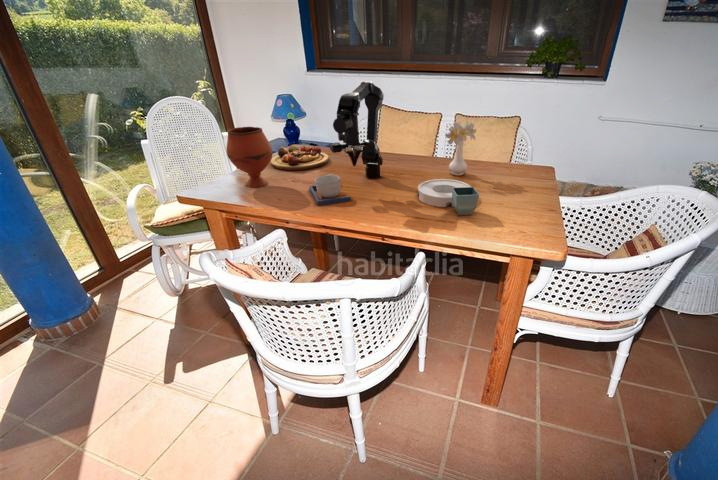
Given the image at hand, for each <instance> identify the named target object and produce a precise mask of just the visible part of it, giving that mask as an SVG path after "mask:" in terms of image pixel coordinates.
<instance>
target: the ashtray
mask: <svg viewBox="0 0 718 480" xmlns="http://www.w3.org/2000/svg"><path fill="white" fill-rule="evenodd" d="M460 187H472V186H471V185H470V184H468V183H466V182H463V181H461V180H456V179H449V178H438V179H429V180H426V181H425V180H424V181H423V182H421V183H419V184H418V186H417V196H418V200H419V201H420V202H422V203H424V204H426V205H429V206H433V207H438V208H446V207H448V206H450V205H451V207H452V208H455V207H454V204H453V199H452V188H460Z"/></svg>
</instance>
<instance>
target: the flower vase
mask: <svg viewBox="0 0 718 480" xmlns="http://www.w3.org/2000/svg"><path fill="white" fill-rule="evenodd" d="M474 126H475V125H474V123H472V122H469V121H468V120H467V119H465V125H464V126H463V125H462V124H461V121H454V122H453V125H451V126H450V127H449V128H448V131H449V133H445V135H444V136H445V137H446V138H447V139H449V140H448V142H447V143H448V145H449V146H450V145H452V144H453V143H454V144H455V145H456V150H455V156H454V158H453V160H452V161H451V162H450V163H449V165H448V169H449V171H450V172H451V175H453V176H464V175H465V172H466V171H467V170H468V164H467V162H466V161H465V159H464V153H463V152H464V143H465V142H466V141H467V137H469V139H470V140H471V141H472V140H473V141H475V140H476V135H475V134H476V133H477V129H476V128H474Z"/></svg>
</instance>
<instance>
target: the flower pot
mask: <svg viewBox="0 0 718 480" xmlns="http://www.w3.org/2000/svg"><path fill="white" fill-rule="evenodd" d="M479 198H480V193H479V192H478V191H477V190H476V188H475V187H474V186H471V187H460V188H452V199H453V204H454V207H453V208H454V210H455V212H456V213H457V215H459V216H467V215H468V216H470V215H472V214H473V213H474V212H475V210H476V209H477V205H478V202H479Z"/></svg>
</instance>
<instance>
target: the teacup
mask: <svg viewBox="0 0 718 480" xmlns="http://www.w3.org/2000/svg"><path fill="white" fill-rule="evenodd" d="M314 183H315V184H314V185H316V188H317V190H316V191H317V194H318V195H319V196H320V197H321V198H323V199H332V198H337V197H338V196H339V194H340V193H341V192H342V183H341V176H339V175H337V174H333V173H329V174H325V175H320V176H318V177H316V178H315V179H314Z"/></svg>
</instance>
